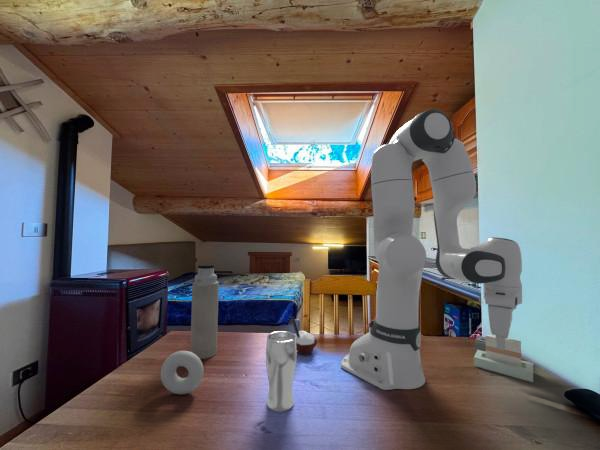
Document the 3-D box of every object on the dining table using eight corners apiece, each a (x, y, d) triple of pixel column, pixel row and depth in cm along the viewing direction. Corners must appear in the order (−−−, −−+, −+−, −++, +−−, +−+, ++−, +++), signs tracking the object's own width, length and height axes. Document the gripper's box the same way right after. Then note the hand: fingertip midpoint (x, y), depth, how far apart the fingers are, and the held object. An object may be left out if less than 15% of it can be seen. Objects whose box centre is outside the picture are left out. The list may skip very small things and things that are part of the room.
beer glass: (291, 415, 57) (293, 343, 58) (260, 410, 59) (261, 340, 59) (298, 396, 64) (299, 332, 65) (270, 392, 66) (271, 329, 66)
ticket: (485, 367, 79) (485, 335, 79) (486, 365, 80) (486, 334, 80) (521, 376, 74) (521, 342, 74) (521, 374, 75) (521, 341, 75)
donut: (156, 397, 63) (158, 353, 63) (164, 389, 66) (165, 347, 67) (200, 398, 63) (201, 354, 63) (205, 389, 66) (206, 348, 67)
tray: (474, 369, 79) (473, 357, 79) (477, 361, 84) (477, 349, 84) (533, 386, 70) (533, 372, 70) (533, 375, 75) (532, 363, 75)
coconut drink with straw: (315, 349, 92) (317, 312, 93) (319, 356, 85) (321, 317, 86) (287, 349, 90) (289, 312, 91) (289, 356, 84) (291, 317, 85)
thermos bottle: (205, 346, 92) (208, 262, 93) (222, 351, 88) (224, 264, 88) (184, 354, 85) (187, 264, 86) (201, 361, 81) (203, 266, 82)
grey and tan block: (475, 357, 86) (475, 340, 86) (478, 351, 91) (478, 334, 91) (519, 369, 79) (518, 350, 79) (519, 361, 84) (519, 343, 84)
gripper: (492, 288, 88) (493, 331, 87) (484, 298, 72) (484, 351, 72) (517, 290, 84) (518, 336, 83) (514, 303, 68) (515, 359, 68)
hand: (502, 343), depth 77 cm, fingers open, 8 cm apart
